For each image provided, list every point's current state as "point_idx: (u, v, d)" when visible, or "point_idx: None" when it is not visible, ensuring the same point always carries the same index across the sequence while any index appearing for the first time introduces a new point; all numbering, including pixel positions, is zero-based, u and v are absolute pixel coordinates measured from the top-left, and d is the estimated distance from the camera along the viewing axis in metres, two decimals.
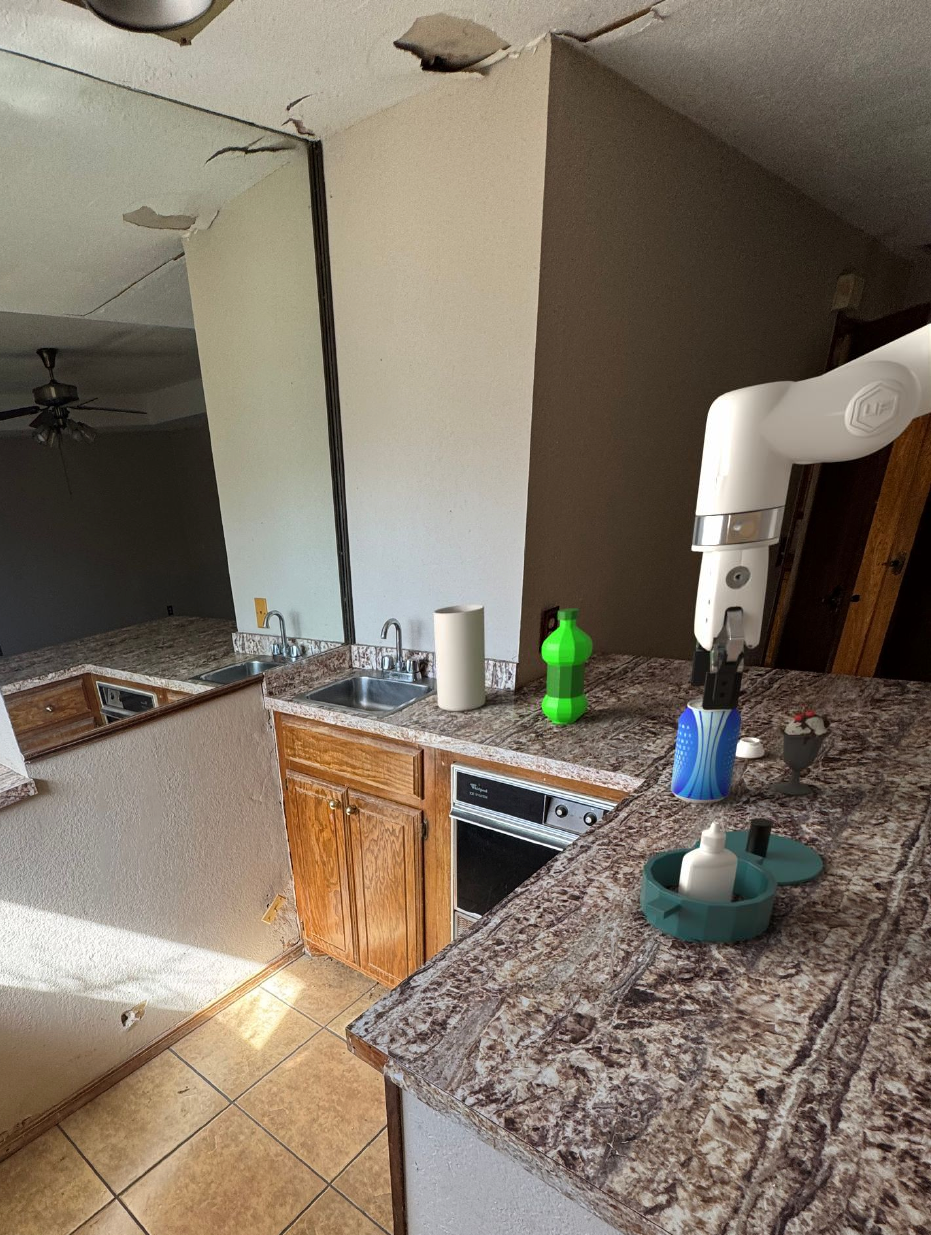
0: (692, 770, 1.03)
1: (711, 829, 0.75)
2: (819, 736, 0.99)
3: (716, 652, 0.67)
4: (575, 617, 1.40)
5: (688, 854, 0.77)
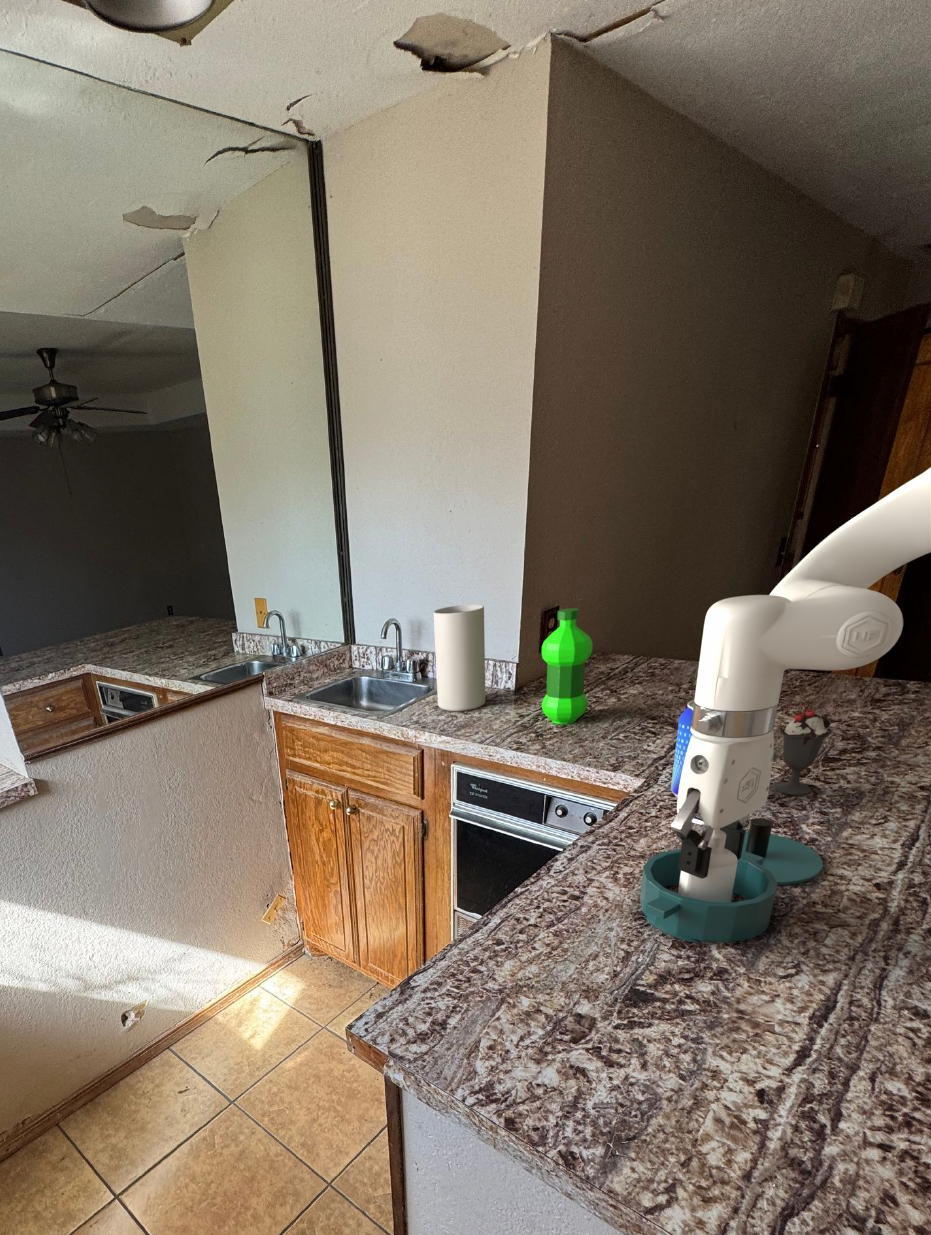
0: None
1: None
2: (819, 736, 0.99)
3: None
4: (575, 617, 1.40)
5: None
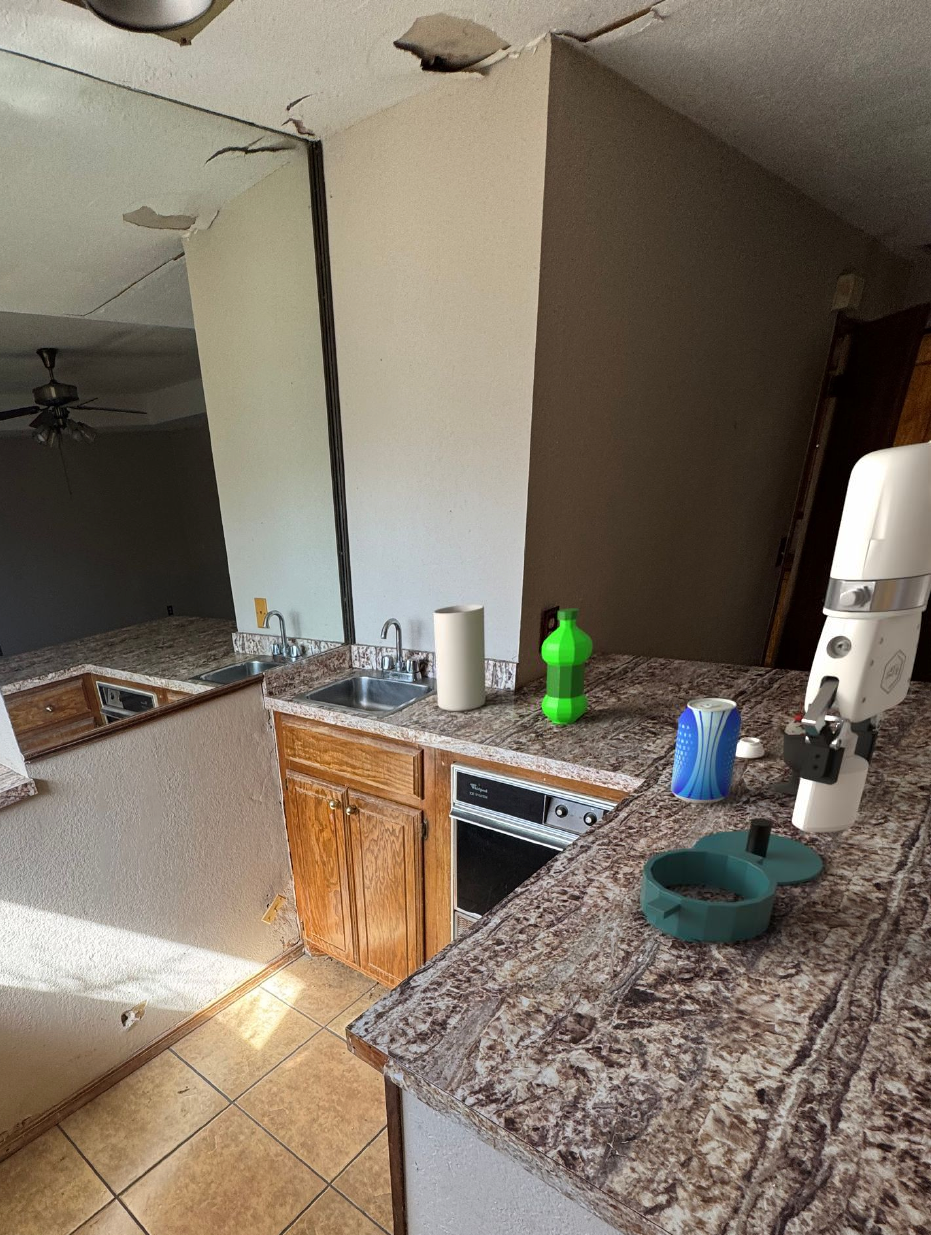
0: (692, 770, 1.03)
1: None
2: None
3: None
4: (575, 617, 1.40)
5: None
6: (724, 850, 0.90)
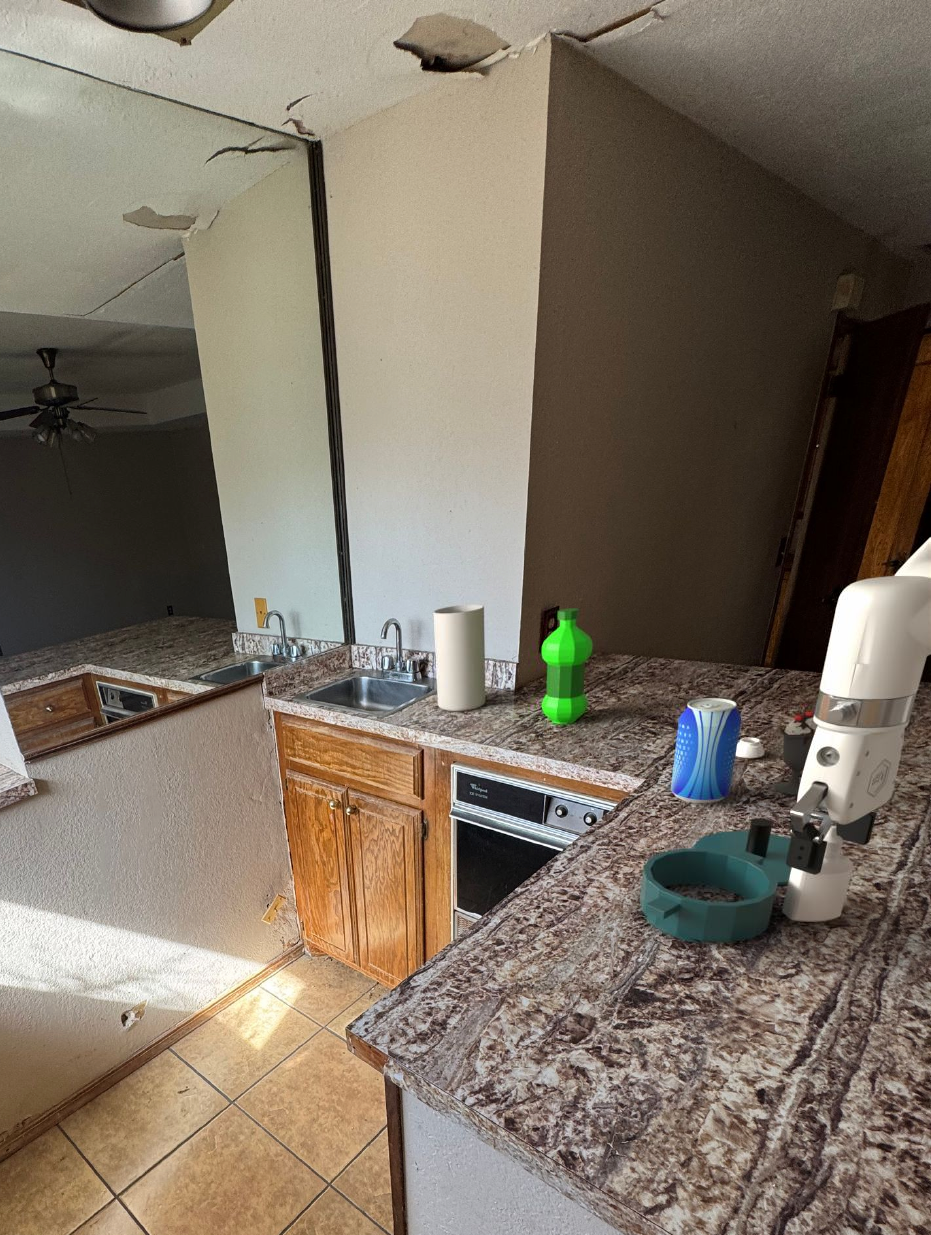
0: (692, 770, 1.03)
1: (827, 833, 0.72)
2: None
3: None
4: (575, 617, 1.40)
5: None
6: (724, 850, 0.90)
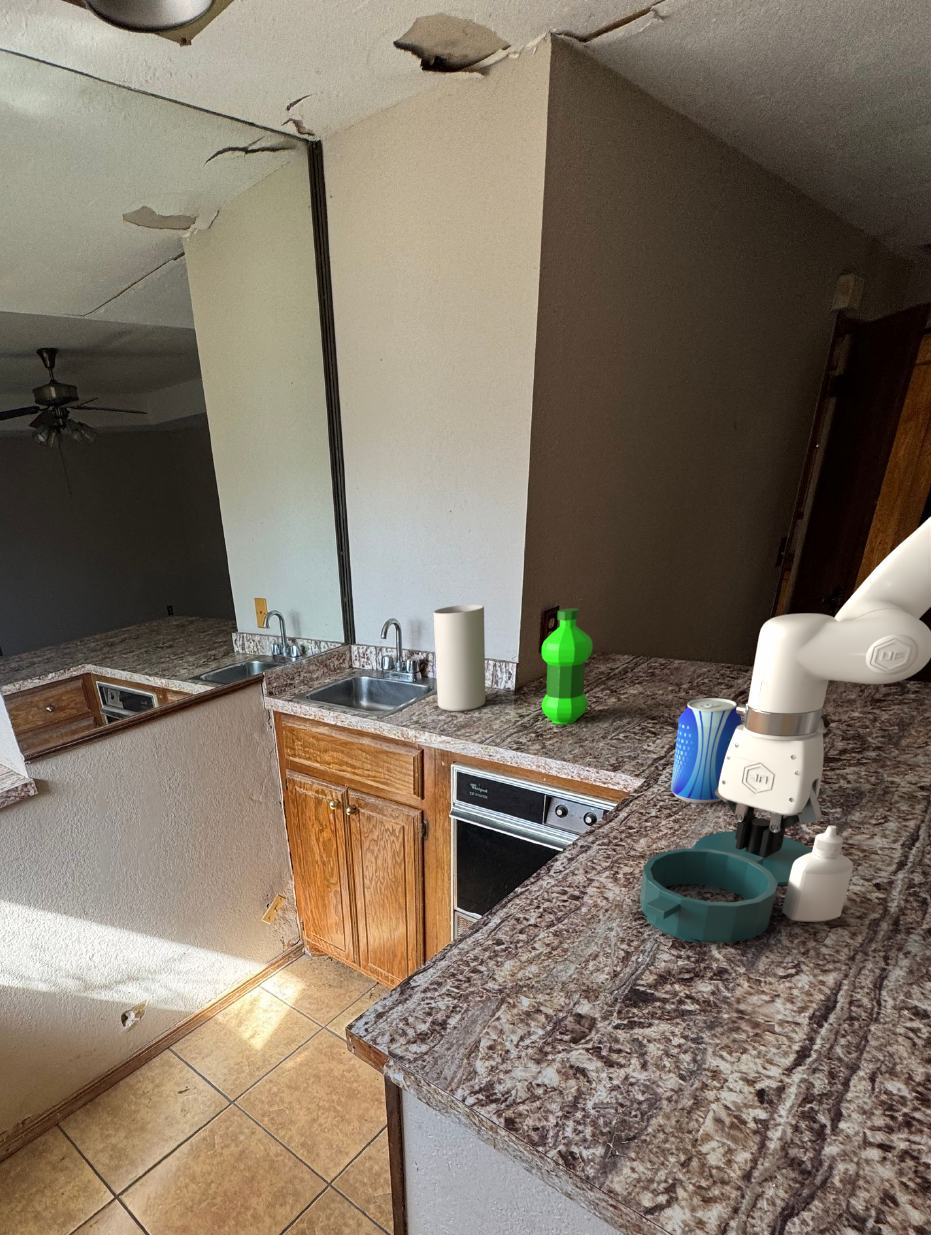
0: (692, 770, 1.03)
1: (827, 833, 0.72)
2: None
3: None
4: (575, 617, 1.40)
5: (799, 859, 0.74)
6: (724, 850, 0.90)
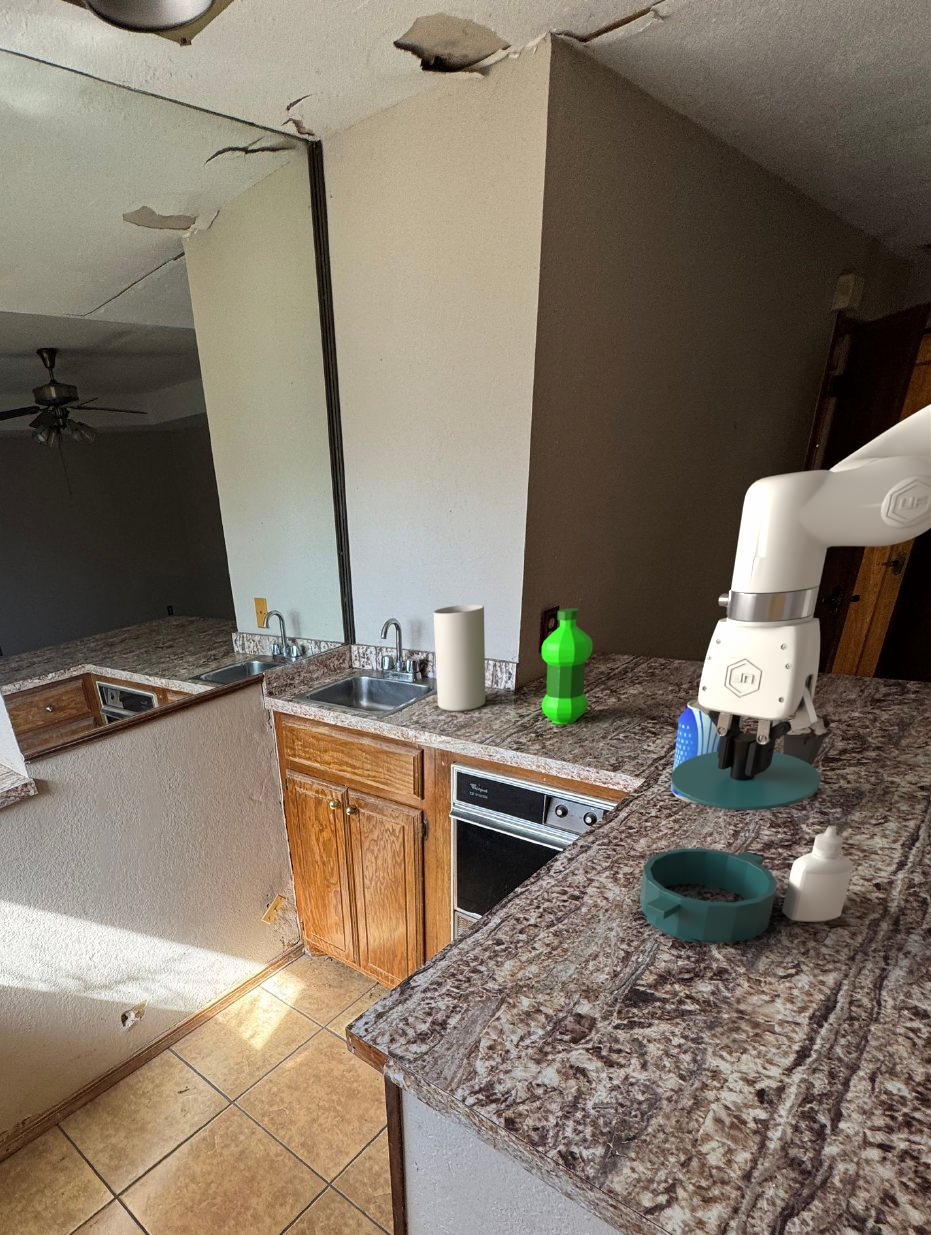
0: None
1: (827, 833, 0.72)
2: (819, 736, 0.99)
3: None
4: (575, 617, 1.40)
5: (799, 859, 0.74)
6: (706, 773, 0.79)
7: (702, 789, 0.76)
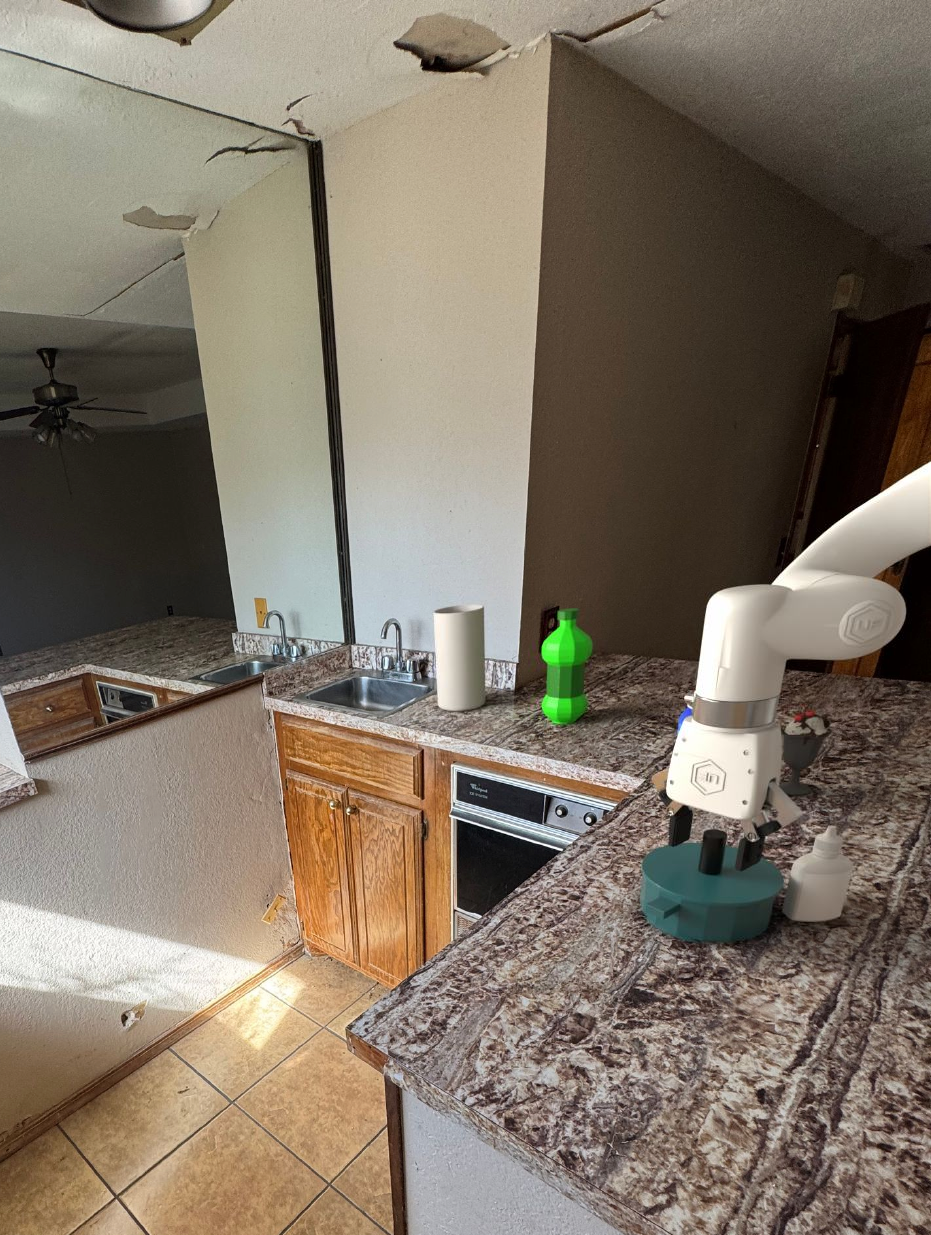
0: None
1: (827, 833, 0.72)
2: (819, 736, 0.99)
3: None
4: (575, 617, 1.40)
5: (799, 859, 0.74)
6: (675, 864, 0.80)
7: (671, 880, 0.77)
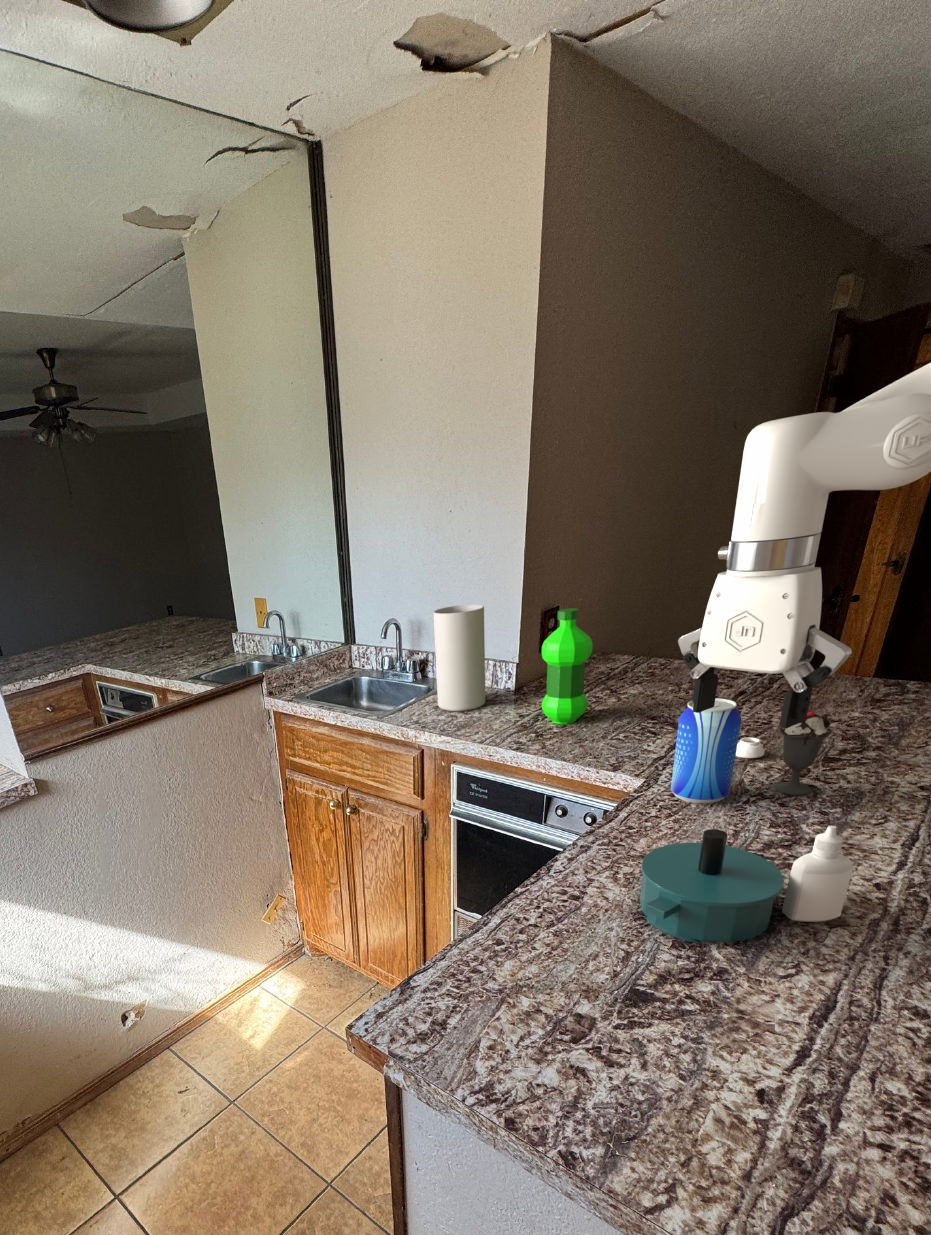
0: (692, 770, 1.03)
1: (827, 833, 0.72)
2: (819, 736, 0.99)
3: None
4: (575, 617, 1.40)
5: (799, 859, 0.74)
6: (675, 864, 0.80)
7: (671, 880, 0.77)
